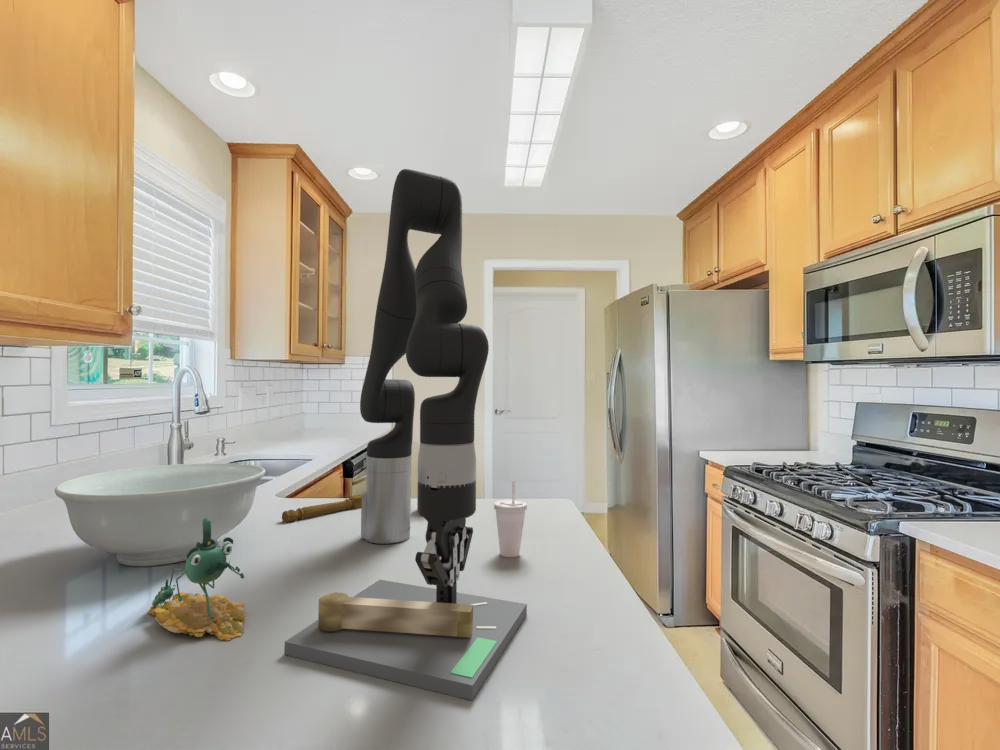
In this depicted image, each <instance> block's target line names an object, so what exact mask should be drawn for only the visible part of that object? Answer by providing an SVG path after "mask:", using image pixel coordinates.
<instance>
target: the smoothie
mask: <svg viewBox="0 0 1000 750" xmlns="http://www.w3.org/2000/svg"><path fill="white" fill-rule="evenodd" d="M511 482H512V483H511V499H500V500H496V501H495V502H494V503H493V504H494V505H493V506H494V507H493V509H494V510H495V518H496V527H497V536H498V537H497V538H498V546H499V547H498V548H499V555H500V556H501V557H503V558H516V557H519V556H520V554H521V553H520V551H521V544H522V537H523V529H524V523H525V514H526V511H527V510H528V504H527V502H525V501H522V500H519V499H516V480H512V481H511Z"/></svg>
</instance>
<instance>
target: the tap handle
mask: <svg viewBox="0 0 1000 750" xmlns="http://www.w3.org/2000/svg"><path fill="white" fill-rule="evenodd" d="M361 508H362V493H361V494H360V493H359V494H356V495H355V494H354V495H351V496H349V498H345V499H344V500H342V501H334V502H328V503H323V504H316V505H309V506H308V505H307V506H303V507H302V508H301V507H299V508H296V510H294V509H289V510H284V511H283V512H282V514H281V521H282V522H283V523H284V524H289V523H294V522H296V521H297V520H298V521H302V520H307V519H311V518H316V517H320V516H321V517H322V516H325V515H328V514H332V513H336V512H339V511H344V510H347V511H348V510H350V509H351V510H358V509H361Z"/></svg>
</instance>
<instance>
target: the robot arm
mask: <svg viewBox="0 0 1000 750" xmlns="http://www.w3.org/2000/svg"><path fill="white" fill-rule="evenodd" d="M392 190H393V191H392V196H391V204H390V215H389V224H388V233H387V234H388V235H387V242H386V252H385V254H386V255H385V260H384V267H383V272H382V277H381V283H380V288H379V293H378V299H377V305H376V310H375V316H374V317H375V318H374V325H373V333H372V342H371V348H370V354H369V359H368V364H367V368H366V371H365V376H364V379H363V385H362V388H361V389H362V390H361V394H360V400H359V410H360V411H359V412H360V415H361V418H362V419H363V420H364V421H365V422H366V423H369V424H370V423H371V424H386V423H387V424H394V427H393V428H392V429H391V430H390V431H389V432H388V433H386V434H384V435H382V436H380V437H378V438H375V439H373V440H370V441H369V442H368V443H367V446H366V477H365V478H366V480H365V481H366V485H365V490H364V491H363V492H362V493H361V494H362V508H360V509H361V512H360V513H361V515H360V516H361V517H360V518H361V520H360V539H362V540H365V541H367V542H369V543H373V544H381V545H382V544H383V545H385V544H396V543H401V542H404V541H407V540H408V539H409V538H410V536H411V508H412V507H411V505H412V504H411V503H412V502H411V500H412V499H411V498H412V497H411V496H412V453H413V452H412V449H413V447H412V446H413V437H414V436H413V435H414V433H413V432H414V431H413V430H414V419H415V418H414V416H415V406H416V405H415V404H416V403H415V402H416V401H415V400H416V396H415V395H416V393H415V389H414V385H413V383H412V382H411V381H410V380H408V379H395V378H394V379H391V378H389V379H388V378H387V376H388V374H389V373H390V371H391V370H392V368H393V367H394V366H395V364H397V362H399V360H400V359H402V358H403V357H404V355H405V358H406V362H407V365H408V367H409V368H410V369H411V371H412V372H413V373H414V374H416V375H418V376H419V377H423V378H424V377H425V378H459V379H458V383H457V384H456V385H455V388H454V389H453V390H451V391H449V392H447V393H443V394H442V393H441V394H438V395H433V396H429V397H426V398H424V399H423V400H422V402H421V403H420V408H419V448H418V456H417V503H416V505H417V508H416V509H417V511H416V512H417V514H418V515H419V516H420V517H421V518H423V519H424V520H426V522H427V527H426V531H425V542H426V546H425V549H424V550H423V551H417V552H416V554H415V557H414V558H415V560H414V561H415V562H416V565H417V567H418V569H419V571H420V573H421V575H422V576H423V578H424V580H425V582H426V584H427V585H429V586H436V588H435V589H436V602H437V603H453V604H456V600H457V593H458V592H457V587H458V586H457V584H458V583H457V582H458V581H459V579H460V575H461V574H460V572H464V571H465V566H466V563H467V559H468V554H469V551H470V547H471V546H470V545H471V542H472V539H473V533H474V528H473V527H471V526H466V524H467V523H466V522H467V521H466V519H467V518H470V517H472V516H473V515H474V514H475V513H476V510H477V457H476V449H475V415H476V414H475V411H476V403H477V397H478V393H479V389H480V384H481V382H482V381H481V380H482V377H483V375H484V371H485V367H486V363H487V360H488V356H489V351H490V349H489V341H488V337H487V335H486V332H485V331H484V330H483V329H482V328H481V327H480V326H479V325H477V324H473V323H460V322H461V321H463V320H464V318H465V317H466V315H467V312H468V300H467V294H466V288H465V282H464V275H463V268H462V267H463V266H462V250H463V249H462V245H463V244H462V242H463V200H462V199H463V198H462V191H461V189H460V187H459V184H458V183H457V182H456V181H454V180H452V179H450V178H448V177H443V176H442V175H441V176H439V175H435V174H432V173H427V172H423V171H419V170H413V169H409V168H403V169H401V170H400V171H399V172H398V174H397V176H396V178H395V181H394V185H393V189H392ZM410 230H411V231H416V232H423V233H428V234H434V235H440V236H439V237H438V239H437V240H436V241H435V242H434V243H433V244H432V245H431V246H430V247H429V248H428V249H427V250H426V251H425V252H424V253H423V254H422V256H421V257H420V259H419V260H418V263H417V265H416V266H415V264H414V260H413V257H412V254H411V252H410V251H411V250H410V247H409V241H408V238H409V237H408V235H409V231H410Z"/></svg>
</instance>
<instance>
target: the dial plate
mask: <svg viewBox="0 0 1000 750" xmlns="http://www.w3.org/2000/svg"><path fill="white" fill-rule="evenodd" d="M353 597H360V598H375V599H391V600H406V601H422V602H436V588H432V587H428V586H427V587H426V586H420V585H414V584H410V583H409V584H408V583H403V582H398V581H391V580H385V579H378V580H377V581H375V582H374V583H372V584H371V585H369V586H367V587H366V588H364V589H363V590H361V591H360V592H358V593H357V594H355V595H353ZM456 604H469V605H473V630H472V633H471V636H470V637H457V636H443V635H429V634H415V633H401V632H387V631H373V630H359V629H345V628H343V629H340V630H337V631H329V632H328V631H322V630H320V629H319V628H318V619H317V620H315V621H314V622H312V623H311V624H309V625H308V626H307V627H306V626H305V628H303V629H302V630H301V631H299V632H297V633H296V634H294V635H293V636H291V637H289V638H288V639H286V640H285V641H284V649H283V651H284V653H283V654H284V655H285V656H289V657H293V658H297V659H301V660H305V661H308V662H309V661H310V662H314V663H317V664H321V665H326V666H330V667H334V668H336V669H337V668H339V669H342V670H346V671H350V672H354V673H359V674H362V675H365V676H366V675H367V676H371V677H374V678H378V679H384V680H387V681H391V682H394V683H400V684H404V685H408V686H412V687H415V688H419V689H424V690H428V691H432V692H436V693H440V694H444V695H448V696H452V697H457V698H461V699H465V700H469V701H474V699H475V697H476V696H477V694H478V693H479V691H480V689H481V687H482V686H483V684H484V683H485V681H486V679H488V677H489V675H490V673H491V672H492V670H493V669H494V667H495V665H496V663H497V662H498V661H499V660H500V658H501V656H502V655H503V653H504V652H505V650H506V649H507V646H508V645H509V643H511V640H512V639H513V637H514V636H515V635H516V633H517V631H518V630H519V628H520V626H521V625H522V623H523V622H524V620H525V618H526V617H527V615H528V613H527V611H528V610H527V609H528V605H527V604H528V603H523V602H522V603H521V602H516V601H511V600H505V599H504V600H503V599H499V598H492V597H486V596H480V595H474V594H469V593H464V592H457V600H456Z"/></svg>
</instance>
